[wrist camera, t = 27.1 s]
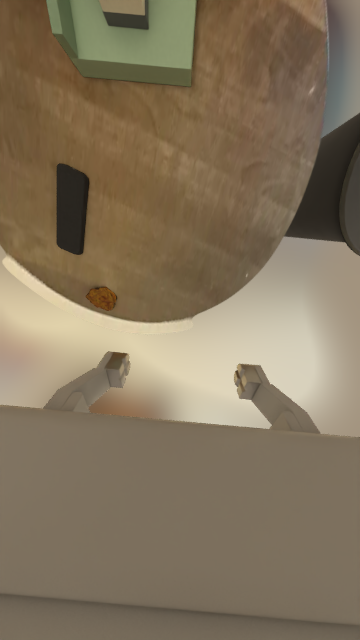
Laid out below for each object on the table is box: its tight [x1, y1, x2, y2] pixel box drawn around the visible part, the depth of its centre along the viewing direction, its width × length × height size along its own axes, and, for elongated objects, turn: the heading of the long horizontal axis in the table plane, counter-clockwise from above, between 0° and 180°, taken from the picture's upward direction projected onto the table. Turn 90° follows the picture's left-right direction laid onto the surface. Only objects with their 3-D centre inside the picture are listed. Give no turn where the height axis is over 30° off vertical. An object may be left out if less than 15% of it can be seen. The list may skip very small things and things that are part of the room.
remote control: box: [57, 164, 89, 255], centre depth 31 cm, size 5×2×15 cm
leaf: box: [86, 287, 116, 311], centre depth 40 cm, size 6×7×2 cm
